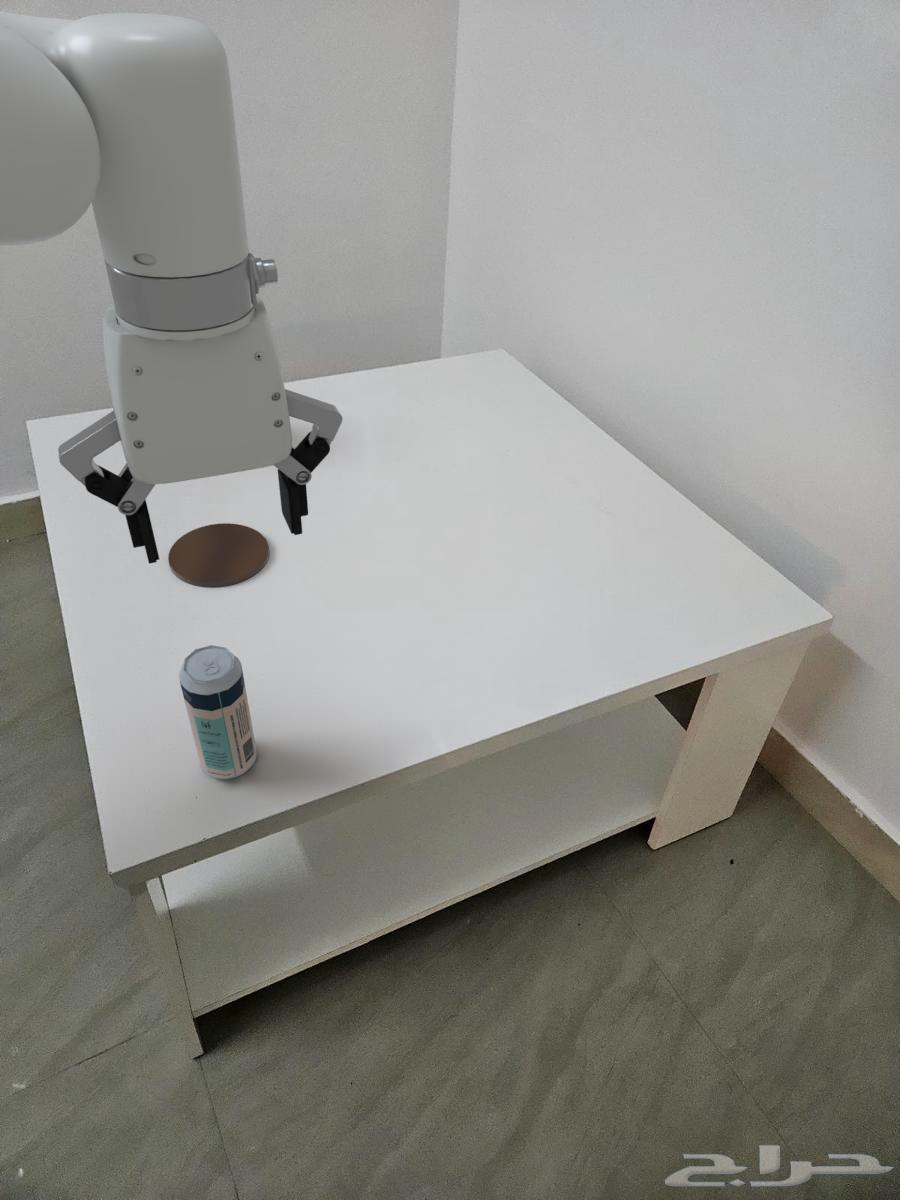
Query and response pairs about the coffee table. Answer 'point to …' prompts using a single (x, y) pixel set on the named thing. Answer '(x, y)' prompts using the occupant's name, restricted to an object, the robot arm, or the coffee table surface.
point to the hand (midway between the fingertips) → (223, 537)
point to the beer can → (218, 711)
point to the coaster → (218, 555)
